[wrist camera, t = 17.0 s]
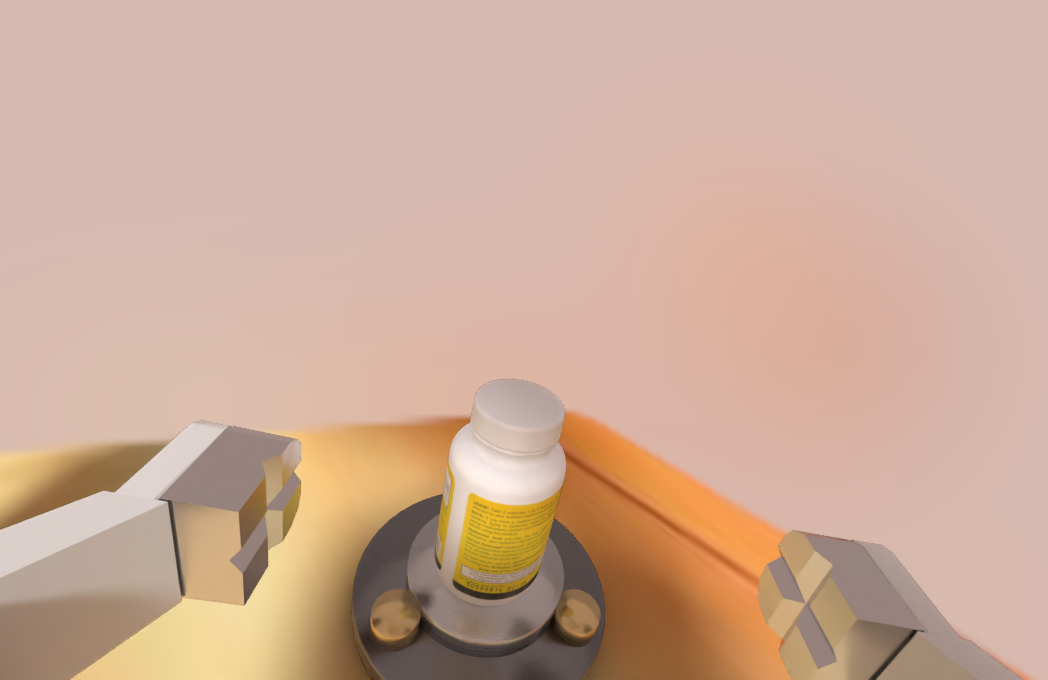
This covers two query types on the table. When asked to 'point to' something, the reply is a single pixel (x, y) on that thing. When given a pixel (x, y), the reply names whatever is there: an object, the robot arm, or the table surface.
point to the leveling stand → (471, 612)
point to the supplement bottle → (501, 493)
